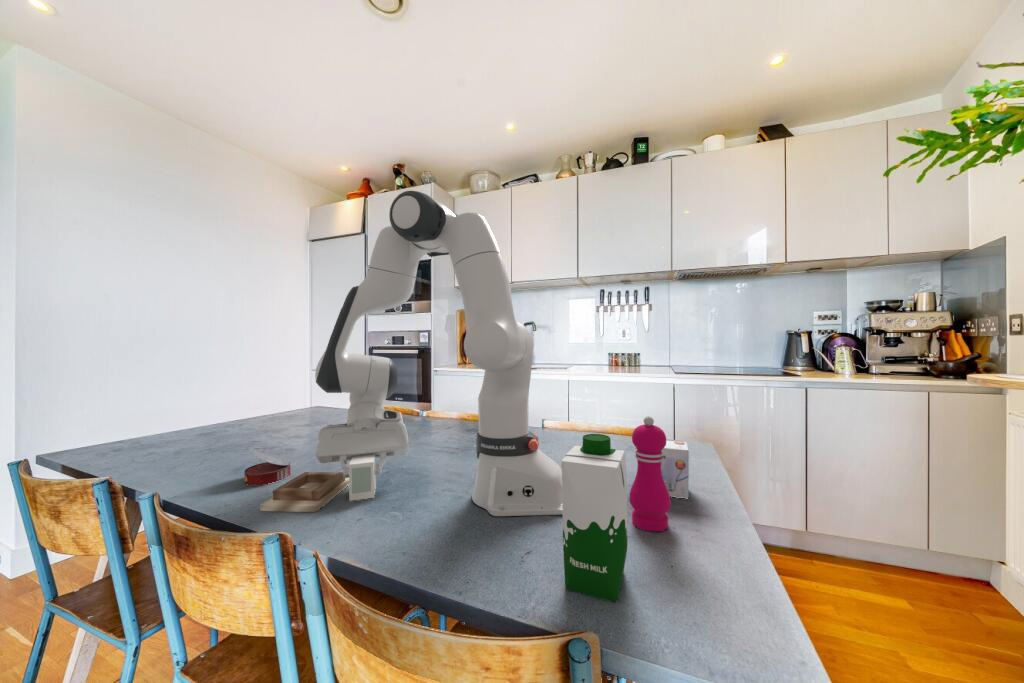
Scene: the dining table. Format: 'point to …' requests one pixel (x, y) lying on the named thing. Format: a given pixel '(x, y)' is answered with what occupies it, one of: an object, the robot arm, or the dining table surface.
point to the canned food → (266, 469)
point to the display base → (306, 492)
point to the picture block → (362, 477)
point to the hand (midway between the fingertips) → (362, 475)
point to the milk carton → (594, 517)
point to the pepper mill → (649, 479)
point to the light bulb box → (676, 468)
